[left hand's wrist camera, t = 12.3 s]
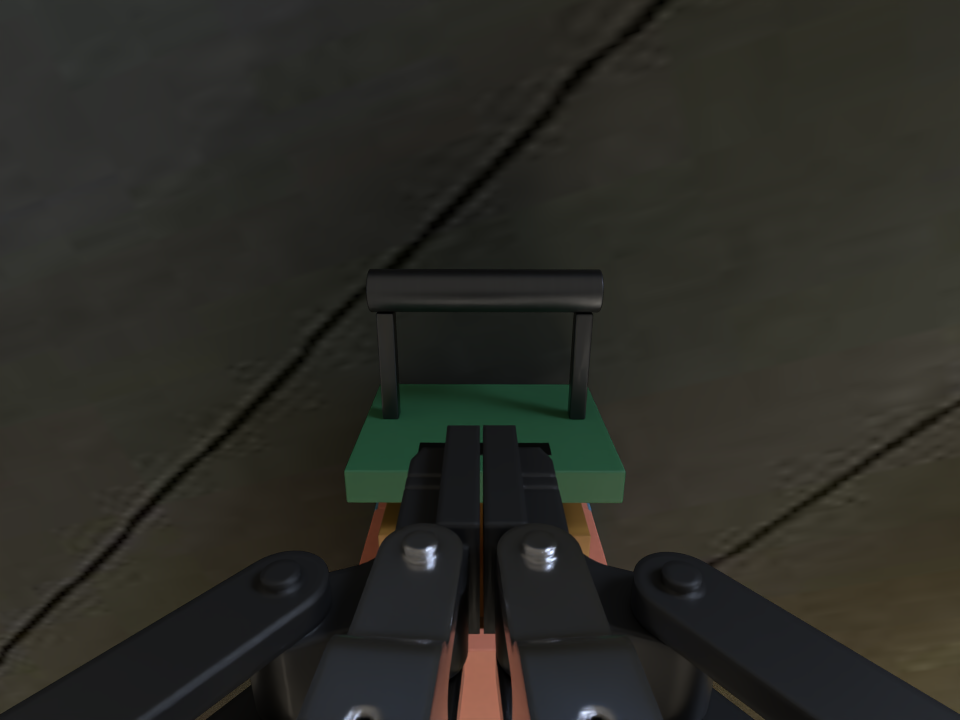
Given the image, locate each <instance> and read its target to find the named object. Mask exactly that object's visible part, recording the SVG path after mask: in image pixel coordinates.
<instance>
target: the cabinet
mask: <svg viewBox="0 0 960 720" xmlns="http://www.w3.org/2000/svg"><path fill="white" fill-rule="evenodd" d="M581 504H582V507H583V511H584V514H585V518H586V521H587V525H588V528H589V532H590V535H591V540H590V552H589V558H591V559H593V560H595V561H597V562H599V563H602V564H604V565H607V562H606V559H605V556H604V552H603V549H602V546H601V543H600V539H599V536H598V533H597V529H596V526H595V523H594V519H593V516H592V513H591V507H590V504H589V503H581ZM385 507H386V503H376V506H375V511H374V515H373V518H372V522H371V525H370V529H369V532H368V536H367V539H366V543H365V546H364V550H363V553H362V557H361V560H360V564H363V563H365V562H368V561H370V560H372V559H373V558H375V557H376V554H377V552H378V549H379V544H378V534H379V530H380V526H381V522H382V519H383V515H384V511H385ZM360 564H359V565H360ZM460 720H500V711H499V702H498V694H497V685H496V644H495V634H484V629H480V634H469V636H468V656H467V659H466V662H465V664H464V685H463V694H462V702H461V711H460Z"/></svg>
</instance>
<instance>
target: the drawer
mask: <svg viewBox="0 0 960 720" xmlns="http://www.w3.org/2000/svg"><path fill="white" fill-rule="evenodd" d="M603 294H604V283H603V276H602V272H601V271H600V270H536V269H370V270H369V271H368V274H367V281H366V296H367V304H368V308H369V310H370V311H371V312H377V314H376V320H377V335H378V351H379V367H380V382H381V384H380V386H379V389H378V391H377V393H376V396H375V398H374V401H373V403H372V405H371V408H370V410H369V413H368V415H367V417H366V420H365V422H364V425H363V427H362V429H361V432H360V434H359V437H358V439H357V441H356V444H355V446H354V449H353V451H352V453H351V456H350V458H349V461H348V463H347V465H346V468H345V470H344V477H345V488H346V499H347V502H357V503H386V507H385V511H384V515H383V519H382V522H381V526H380V530H379V534H378V544H379V547H380V545H381V543H382V541H383V540H384V539H385V538H386V537H387V536H388V535H389V534H391V533H392V532H394V531H395V529H396V524H397V520H398V515H399V510H400V506H401V501H402V497H403V492H404V490H405V483H406V479H407V474H408V469H409V465H410V460H411V459H412V458H413V457H414V456H415V455H416V454H417V453H418V452H419V451H420V450H421V449H422V448H423V447H445V441H446V432H447V425H480V629H484V611H483V425H515V426H516V433H517V440H518V447H540V448H541V449H542V450H543V451H544V452H545V453H546V454H547V455H548V456H549V457H550V458H551V459H552V460H553V465H554V469H555V473H556V478H557V482H558V489H559V491H560V495H561V500H562V504H563V508H564V513H565V517H566V521H567V526H568V530H569V534H571V535H572V536H573V537H574V538H575V539H576V540H577V541H578V543H579V545H580V547H581V549H582V552H583V554H585V555H586V556H588V557H589V552H590V540H591V535H590V532H589V528H588V525H587V521H586V518H585V514H584V511H583V507H582V504H581V503H622V501H623V493H624V484H625V474H626V472H625V469H624V467H623V465H622V463H621V460H620V458H619V456H618V454H617V451H616V449H615V447H614V445H613V442H612V440H611V438H610V436H609V433H608V431H607V429H606V427H605V424H604V422H603V420H602V418H601V415H600V413H599V411H598V409H597V407H596V404H595V402H594V400H593V398H592V395H591V393H590V391H589V389H588V376H589V363H590V350H591V337H592V323H593V314H592V312H599V311H600V310H601V307H602V303H603ZM396 312H574V316H573V332H572V348H571V364H570V380H569V385H564V384H399V370H398V351H397V331H396Z"/></svg>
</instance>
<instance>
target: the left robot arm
mask: <svg viewBox="0 0 960 720" xmlns="http://www.w3.org/2000/svg"><path fill="white" fill-rule="evenodd" d="M483 611H484V634H495V644H496V685H497V694H498V702H499V711H500V720H754V719H753V718H751V717H750V716H749V715H747V714H746V713H745V712H744V711H742V710H741V709H740V708H738V707H737V706H736V705H734V704H733V703H732V702H730V701H729V700H728V699H727V698H725V697H724V696H723V695H721V694H720V693H719V692H717V691H716V690H715V689H714V688H712V686H713V681H715V682H716V683H718V684H719V685H720V686H722V687H723V688H724V689H726V690H727V691H728V692H730V693H731V694H732V695H734V696H735V697H736V698H738V699H739V700H740V701H742V702H743V703H744V704H746V705H747V706H748V707H750V708H751V709H752V710H754V711H755V712H756V713H758V714H759V715H760V716H762V717H763V718H764V719H766V720H960V714H958V713H957V712H955V711H953V710H952V709H950V708H948V707H947V706H945V705H943V704H942V703H940V702H938V701H936V700H935V699H933V698H931V697H930V696H928V695H926V694H925V693H923V692H921V691H920V690H918V689H916V688H915V687H913V686H911V685H910V684H908V683H906V682H905V681H903V680H901V679H900V678H898V677H896V676H895V675H893V674H891V673H889V672H888V671H886V670H884V669H883V668H881V667H879V666H878V665H876V664H874V663H873V662H871V661H869V660H868V659H866V658H864V657H863V656H861V655H859V654H858V653H856V652H854V651H853V650H851V649H849V648H848V647H846V646H844V645H843V644H841V643H839V642H837V641H836V640H834V639H832V638H831V637H829V636H827V635H826V634H824V633H822V632H821V631H819V630H817V629H816V628H814V627H812V626H811V625H809V624H807V623H806V622H804V621H802V620H801V619H799V618H797V617H796V616H794V615H792V614H791V613H789V612H787V611H785V610H784V609H782V608H780V607H779V606H777V605H775V604H774V603H772V602H770V601H769V600H767V599H765V598H764V597H762V596H760V595H759V594H757V593H755V592H754V591H752V590H750V589H749V588H747V587H745V586H744V585H742V584H740V583H739V582H737V581H735V580H733V579H732V578H730V577H728V576H727V575H725V574H723V573H722V572H720V571H718V570H717V569H715V568H713V567H712V566H710V565H708V564H707V563H705V562H703V561H701V560H699V559H697V558H694V557H692V556H688V555H685V554H681V553H674V552H659V553H654V554H651V555H648V556H646V557H644V558H642V559H641V560H640V561H639V562H638V563H637V565H636V566H635V569H634V572H632V571H628V570H624V569H620V568H615V567H611V566H608V565H604V564H602V563H599V562H597V561H595V560H593V559H591V558H589V557H588V556H586V555H585V554H583V552H582V549H581V547H580V545H579V543H578V541H577V540H576V539H575V538H574V537H573V536H572V535H571V534H569V530H568V526H567V521H566V517H565V513H564V508H563V504H562V500H561V495H560V491H559V489H558V482H557V478H556V473H555V469H554V465H553V460H552V459H551V458H550V457H549V456H548V455H547V454H546V453H545V452H544V451H543V450H542V449H541V448H540V447H518V440H517V433H516V426H515V425H483ZM469 634H480V425H447V432H446V441H445V447H423V448H422V449H421V450H420V451H419V452H418V453H417V454H416V455H415V456H414V457H413V458H412V459H411V460H410V465H409V469H408V474H407V479H406V483H405V490H404V492H403V497H402V501H401V506H400V510H399V515H398V520H397V524H396V529H395V531H394V532H392V533H391V534H389V535H388V536H387V537H386V538H385V539H384V540H383V541H382V543H381V545H380V547H379V549H378V552H377V554H376V557H375V558H373V559H372V560H370V561H368V562H365V563H363V564H360V565H357V566H353V567H350V568H345V569H341V570H337V571H333V572H328V567H327V565H326V563H325V562H324V561H323V560H322V559H321V558H320V557H319V556H317V555H315V554H312V553H309V552H304V551H286V552H280V553H276V554H273V555H270V556H267V557H265V558H263V559H261V560H259V561H257V562H255V563H253V564H252V565H250V566H248V567H247V568H245V569H243V570H242V571H240V572H238V573H237V574H235V575H233V576H232V577H230V578H228V579H227V580H225V581H223V582H222V583H220V584H218V585H216V586H215V587H213V588H211V589H210V590H208V591H206V592H205V593H203V594H201V595H200V596H198V597H196V598H195V599H193V600H191V601H190V602H188V603H186V604H185V605H183V606H181V607H180V608H178V609H176V610H175V611H173V612H171V613H170V614H168V615H166V616H164V617H163V618H161V619H159V620H158V621H156V622H154V623H153V624H151V625H149V626H148V627H146V628H144V629H143V630H141V631H139V632H138V633H136V634H134V635H133V636H131V637H129V638H128V639H126V640H124V641H123V642H121V643H119V644H117V645H116V646H114V647H112V648H111V649H109V650H107V651H106V652H104V653H102V654H101V655H99V656H97V657H96V658H94V659H92V660H91V661H89V662H87V663H86V664H84V665H82V666H81V667H79V668H77V669H76V670H74V671H72V672H71V673H69V674H67V675H65V676H64V677H62V678H60V679H59V680H57V681H55V682H54V683H52V684H50V685H49V686H47V687H45V688H44V689H42V690H40V691H39V692H37V693H35V694H34V695H32V696H30V697H29V698H27V699H25V700H24V701H22V702H20V703H19V704H17V705H15V706H13V707H12V708H10V709H8V710H7V711H5V712H3V713H2V714H0V720H195V719H196V718H197V717H198V716H200V715H201V714H202V713H204V712H205V711H206V710H208V709H209V708H210V707H212V706H213V705H214V704H216V703H217V702H218V701H220V700H221V699H222V698H224V697H225V696H226V695H228V694H229V693H230V692H232V691H233V690H234V689H236V688H237V687H238V686H240V685H241V684H242V683H244V682H245V681H246V680H248V679H249V678H250V680H251V685H250V686H249V687H248V688H246V689H245V690H244V691H243V692H241V693H240V694H239V695H237V696H236V697H235V698H233V699H232V700H231V701H230V702H228V703H227V704H226V705H224V706H223V707H222V708H220V709H219V710H218V711H216V712H215V713H214V714H213V715H211V716H210V717H209V718H207V719H206V720H460V711H461V702H462V694H463V685H464V664H465V662H466V659H467V656H468V636H469Z"/></svg>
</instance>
